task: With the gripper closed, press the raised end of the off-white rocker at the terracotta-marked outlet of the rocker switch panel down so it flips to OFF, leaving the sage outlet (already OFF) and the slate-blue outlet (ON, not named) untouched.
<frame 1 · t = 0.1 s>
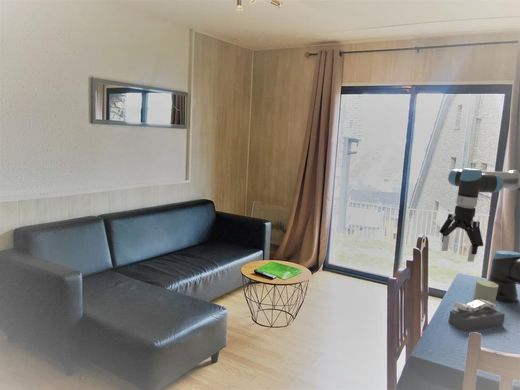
hand: (457, 255, 173), 28 cm above the table, fingers open, 13 cm apart
rocker 2: (475, 305, 175), point 8 cm above the table, hinge at 15.0°
can: (482, 306, 193), on the table
rocker 3: (463, 306, 172), point 8 cm above the table, hinge at -15.0°
rocker switch panel: (475, 323, 175), on the table
rocker 1: (487, 303, 177), point 8 cm above the table, hinge at -15.0°
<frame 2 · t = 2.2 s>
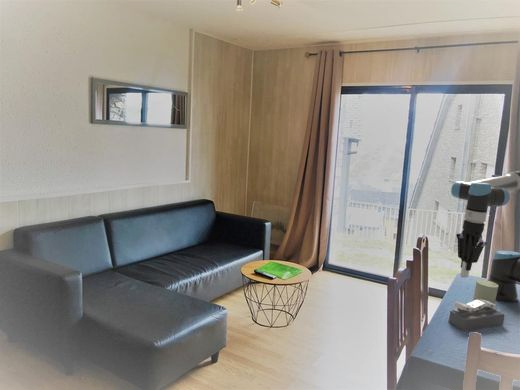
hand: (464, 276, 169), 21 cm above the table, fingers closed
nothing on the table moved.
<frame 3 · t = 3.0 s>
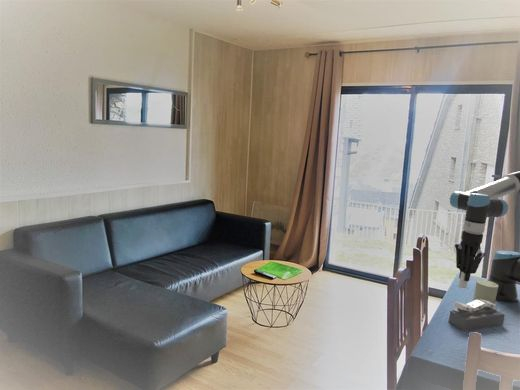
hand: (462, 287, 170), 16 cm above the table, fingers closed
nothing on the table moved.
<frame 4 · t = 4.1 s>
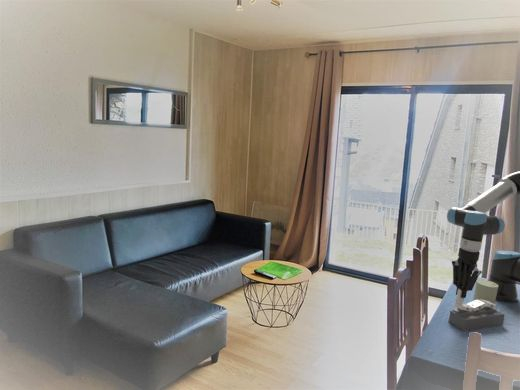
hand: (459, 303, 171), 9 cm above the table, fingers closed
rocker 3: (463, 306, 172), point 8 cm above the table, hinge at -14.4°, touching gripper
everything else where it was.
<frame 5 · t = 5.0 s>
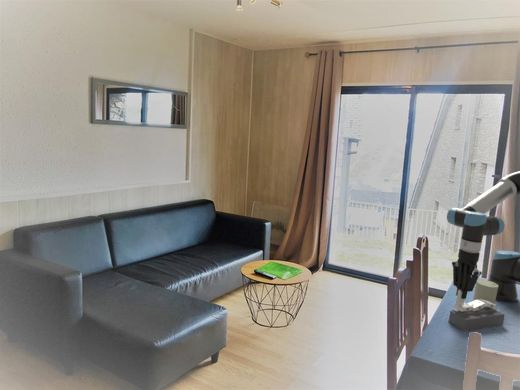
hand: (459, 304, 171), 9 cm above the table, fingers closed
rocker 3: (463, 306, 172), point 8 cm above the table, hinge at 0.8°
everything else where it was.
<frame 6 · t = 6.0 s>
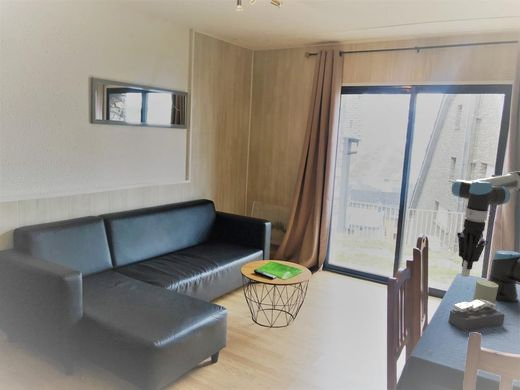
hand: (465, 275, 169), 21 cm above the table, fingers closed
rocker 3: (463, 306, 172), point 8 cm above the table, hinge at 8.2°
everything else where it was.
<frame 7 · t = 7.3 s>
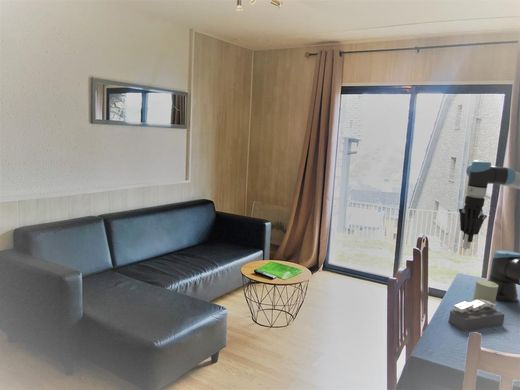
hand: (466, 248, 184), 28 cm above the table, fingers closed
rocker 3: (463, 306, 172), point 8 cm above the table, hinge at 13.5°
everything else where it was.
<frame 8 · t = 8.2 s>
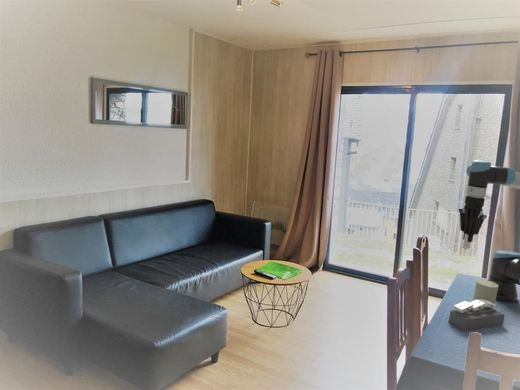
hand: (466, 248, 184), 28 cm above the table, fingers closed
rocker 3: (463, 306, 172), point 8 cm above the table, hinge at 15.6°
everything else where it was.
at the end: rocker 3 at +16° (first picture: -15°); rocker 2 at +15° (first picture: +15°); rocker 1 at -15° (first picture: -15°) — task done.
